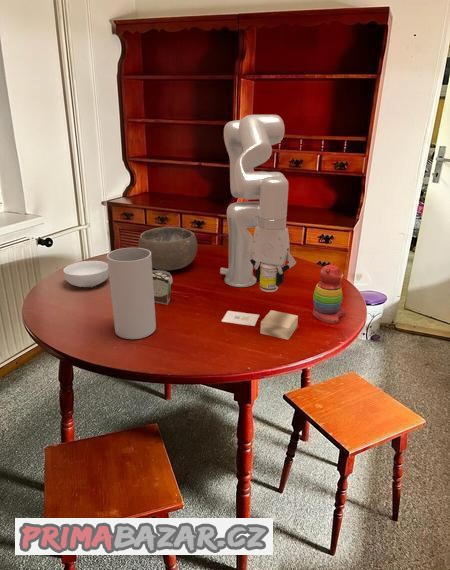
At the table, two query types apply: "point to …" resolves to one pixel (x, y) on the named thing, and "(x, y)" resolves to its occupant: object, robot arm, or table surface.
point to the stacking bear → (329, 295)
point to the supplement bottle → (268, 277)
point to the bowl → (169, 247)
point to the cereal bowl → (86, 273)
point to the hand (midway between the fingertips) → (269, 282)
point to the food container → (162, 286)
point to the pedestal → (279, 324)
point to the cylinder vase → (132, 292)
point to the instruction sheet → (240, 318)
